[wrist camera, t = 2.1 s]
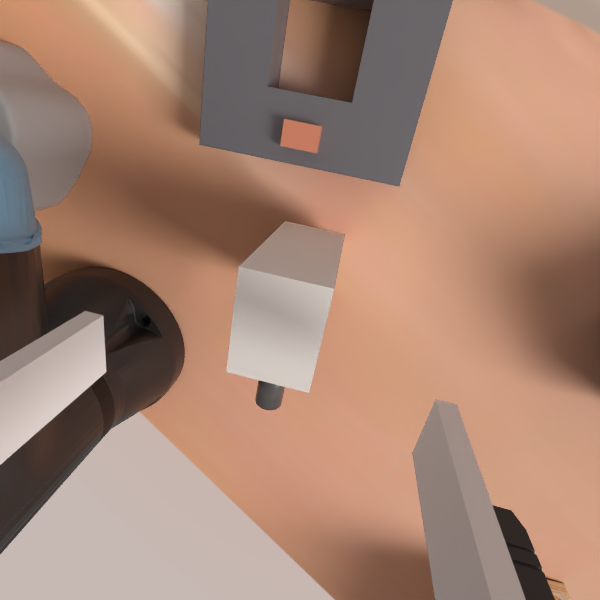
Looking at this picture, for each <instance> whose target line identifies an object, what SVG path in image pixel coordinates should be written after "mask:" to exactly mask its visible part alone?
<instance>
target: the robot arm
mask: <svg viewBox="0 0 600 600" xmlns="http://www.w3.org/2000/svg"><path fill="white" fill-rule="evenodd" d="M41 235H42V233H41V225H40V223H39V222H38V220H37V219H36V218H35V212H34V206H33V200H32V194H31V187H30V181H29V175H28V171H27V168H26V165H25V162H24V160H23V158H22V157H21V155H20V154H19V152H18V151H17V149H16V148H15V147H14V146H13V145H12V144H11V143H10V142H9V141H8V140H7V139H6V138H5V137H3V136H2V135H1V134H0V554H1V553H2V552H3V551H4V549H5V548H6V547H7V546H8V545H9V544H10V543H11V541H12V540H13V539H14V538H15V537H16V536H17V535H18V534H19V533H20V531H21V530H22V529H23V528H24V527H25V526H26V524H27V523H28V522H29V521H30V520H31V519H32V518H33V517H34V515H35V514H36V513H37V512H38V511H39V510H40V509H41V507H42V506H43V505H44V504H45V503H46V502H47V501H48V500H49V498H50V497H51V496H52V495H53V494H54V493H55V491H56V490H57V489H58V488H59V487H60V486H61V485H62V484H63V482H64V481H65V480H66V479H67V478H68V477H69V476H70V475H71V473H72V472H73V471H74V470H75V469H76V468H77V466H78V465H79V464H80V463H81V462H82V461H83V460H84V458H85V457H86V456H87V455H88V454H89V453H90V452H91V451H92V449H93V448H94V447H95V446H96V445H97V444H98V443H99V442H100V440H101V439H102V438H103V437H104V436H105V435H106V434H107V433H108V431H109V430H110V429H111V428H113V427H115V426H116V425H118V424H120V423H121V422H123V421H125V420H126V419H128V418H129V417H131V416H133V415H134V414H136V413H137V412H139V411H141V410H143V409H145V408H147V407H149V406H151V405H153V404H154V403H156V402H157V401H158V400H160V399H161V398H162V397H163V396H164V395H165V394H166V393H167V391H168V390H169V389H170V388H171V386H172V385H173V384H174V383H175V381H176V380H177V378H178V377H179V375H180V373H181V370H182V367H183V363H184V354H185V351H184V342H183V337H182V334H181V331H180V328H179V326H178V324H177V322H176V320H175V318H174V316H173V314H172V313H171V311H170V310H169V308H168V307H167V306H166V305H165V303H164V302H163V301H162V300H161V299H160V298H159V297H158V296H157V295H156V294H155V293H154V292H153V291H152V290H151V289H149V288H148V287H147V286H145V285H144V284H143V283H141V282H140V281H138V280H136V279H134V278H133V277H131V276H129V275H126V274H124V273H121V272H119V271H115V270H112V269H107V268H100V267H87V268H81V269H77V270H74V271H71V272H69V273H67V274H64V275H62V276H60V277H57V278H55V279H53V280H51V281H50V282H48V283H47V284H45V285H44V281H43V271H42V262H41V252H40V244H41V243H42V239H41ZM412 454H413V460H414V467H415V473H416V480H417V486H418V493H419V499H420V506H421V512H422V519H423V525H424V532H425V538H426V544H427V551H428V557H429V564H430V570H431V577H432V583H433V590H434V596H435V600H555V598H554V596H553V593H552V591H551V589H550V586H549V584H548V581H547V579H546V577H545V574H544V572H542V570H541V569H542V567H541V565H540V562H539V560H538V558H537V555H535V554H534V551H535V550H534V548H533V546H532V543H531V541H530V539H529V536H528V534H527V531H526V529H525V528H524V527H523V525H522V524H521V523H520V521H519V520H518V519H517V517H516V516H515V515H514V513H513V512H512V511H511V510H507V509H504V508H500V507H496V506H493V505H492V503H491V500H490V497H489V494H488V492H487V489H486V486H485V483H484V480H483V478H482V475H481V472H480V469H479V466H478V463H477V461H476V458H475V455H474V452H473V449H472V447H471V444H470V441H469V438H468V435H467V432H466V430H465V427H464V424H463V421H462V418H461V415H460V413H459V410H458V407H457V405H456V404H452V403H448V402H444V401H440V400H435V402H434V405H433V407H432V409H431V411H430V414H429V416H428V418H427V421H426V423H425V425H424V428H423V430H422V432H421V434H420V437H419V439H418V441H417V444H416V446H415V448H414V451H413V453H412Z"/></svg>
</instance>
